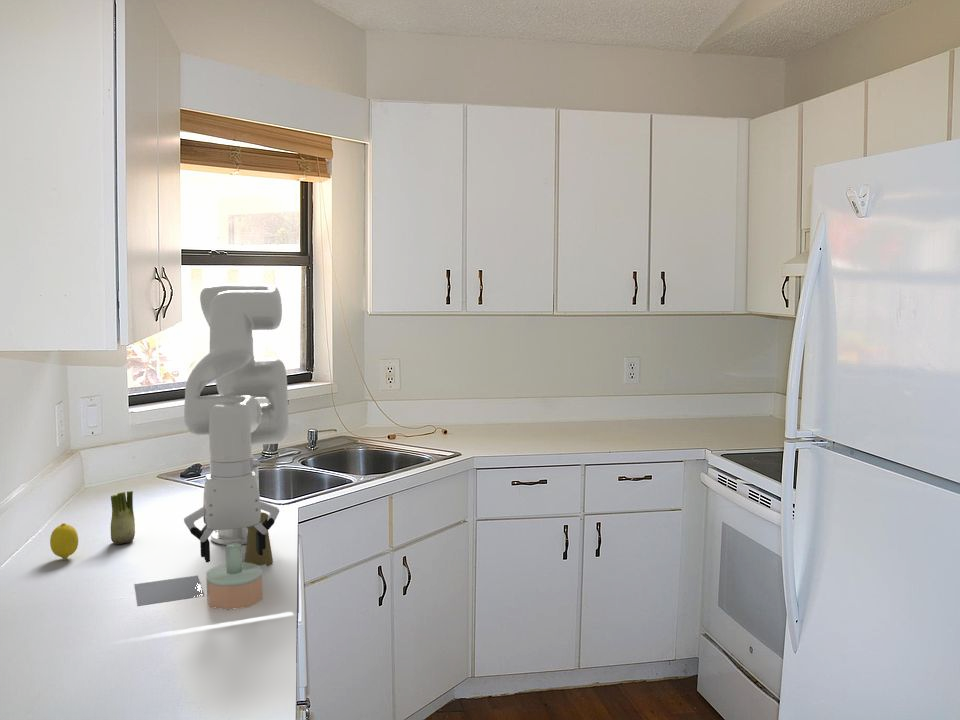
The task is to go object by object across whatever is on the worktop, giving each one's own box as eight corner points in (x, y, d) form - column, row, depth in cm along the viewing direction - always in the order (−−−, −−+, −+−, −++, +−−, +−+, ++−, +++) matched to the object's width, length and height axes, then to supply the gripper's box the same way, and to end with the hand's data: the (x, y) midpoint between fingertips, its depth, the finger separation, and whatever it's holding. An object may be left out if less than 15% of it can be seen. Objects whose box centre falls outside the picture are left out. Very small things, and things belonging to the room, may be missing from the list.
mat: (134, 587, 168) (134, 584, 168) (197, 578, 173) (197, 575, 173) (137, 608, 157) (137, 605, 157) (204, 598, 162) (204, 595, 162)
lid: (203, 571, 162) (202, 541, 162) (256, 564, 167) (255, 534, 166) (210, 589, 153) (209, 557, 153) (266, 581, 158) (265, 549, 157)
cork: (244, 569, 178) (242, 518, 177) (244, 559, 184) (242, 510, 183) (273, 566, 180) (272, 516, 179) (272, 557, 186) (271, 508, 184)
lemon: (71, 553, 188) (70, 518, 187) (83, 558, 185) (82, 522, 184) (46, 559, 184) (44, 523, 183) (58, 565, 180) (56, 528, 180)
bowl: (205, 597, 163) (204, 571, 162) (256, 589, 167) (255, 564, 166) (211, 615, 154) (211, 588, 154) (265, 606, 158) (264, 581, 158)
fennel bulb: (133, 537, 199) (131, 488, 198) (139, 543, 195) (137, 492, 194) (107, 542, 196) (105, 491, 195) (112, 547, 192) (110, 496, 191)
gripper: (273, 459, 165) (275, 544, 167) (180, 468, 158) (183, 556, 159) (281, 468, 158) (283, 556, 160) (184, 477, 151) (187, 569, 153)
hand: (233, 556), depth 160 cm, fingers open, 9 cm apart
